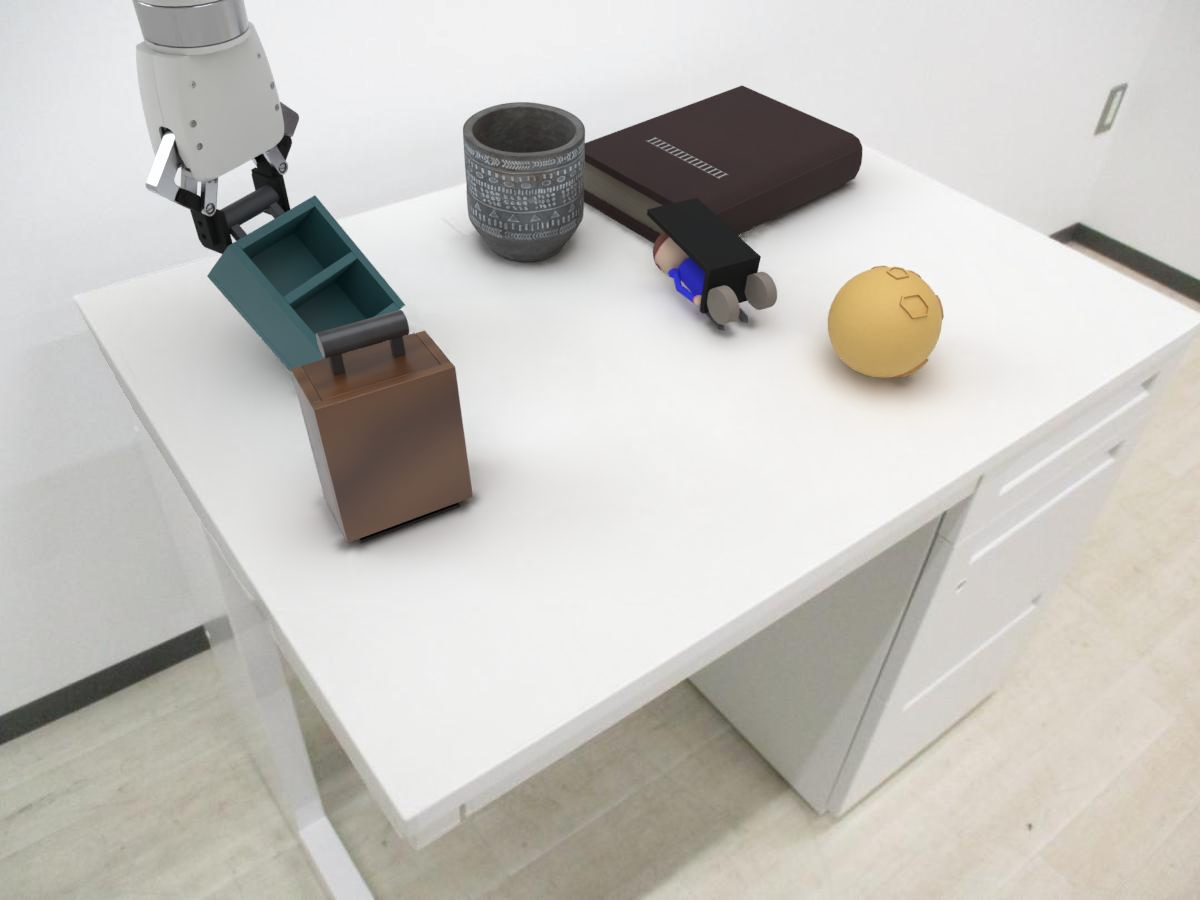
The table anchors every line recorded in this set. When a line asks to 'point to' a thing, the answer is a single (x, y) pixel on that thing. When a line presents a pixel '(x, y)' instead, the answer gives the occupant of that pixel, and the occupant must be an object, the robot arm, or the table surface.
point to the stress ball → (885, 322)
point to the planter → (525, 178)
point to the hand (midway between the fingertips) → (247, 230)
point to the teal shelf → (297, 276)
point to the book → (719, 162)
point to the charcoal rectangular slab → (409, 522)
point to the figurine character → (709, 262)
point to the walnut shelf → (383, 424)
